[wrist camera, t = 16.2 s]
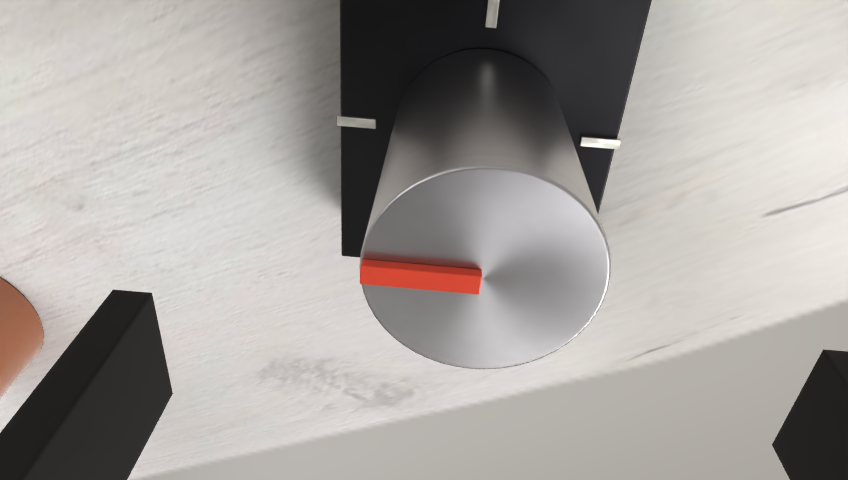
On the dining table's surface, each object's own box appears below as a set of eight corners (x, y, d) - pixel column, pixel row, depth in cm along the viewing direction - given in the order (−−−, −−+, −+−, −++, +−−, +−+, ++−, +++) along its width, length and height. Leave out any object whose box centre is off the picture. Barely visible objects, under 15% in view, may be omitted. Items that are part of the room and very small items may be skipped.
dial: (578, 56, 21) (643, 185, 13) (546, 210, 24) (584, 388, 16) (399, 40, 21) (358, 159, 13) (391, 197, 24) (356, 367, 16)
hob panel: (574, 238, 28) (585, 279, 26) (350, 219, 29) (338, 258, 26) (641, -51, 22) (665, -35, 19) (351, -74, 22) (334, -62, 19)
